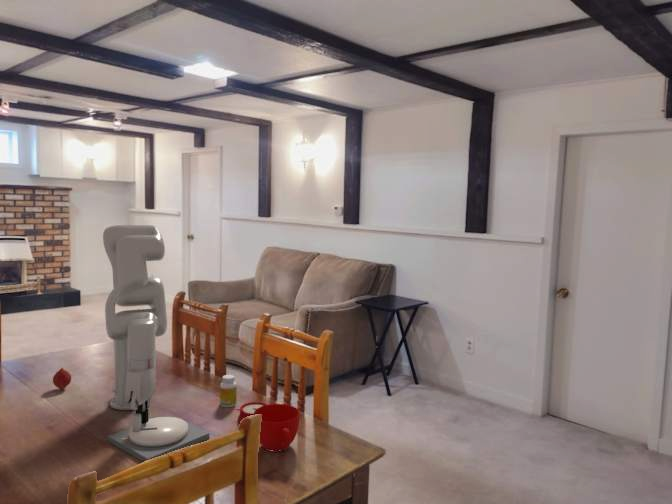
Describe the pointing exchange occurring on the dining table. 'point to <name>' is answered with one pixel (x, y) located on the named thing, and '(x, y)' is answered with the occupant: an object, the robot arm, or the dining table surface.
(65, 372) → the onion
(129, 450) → the base plate
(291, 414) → the ceramic cup
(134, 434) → the turntable
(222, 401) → the supplement bottle
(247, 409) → the alarm clock
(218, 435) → the dining table surface
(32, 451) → the dining table surface
